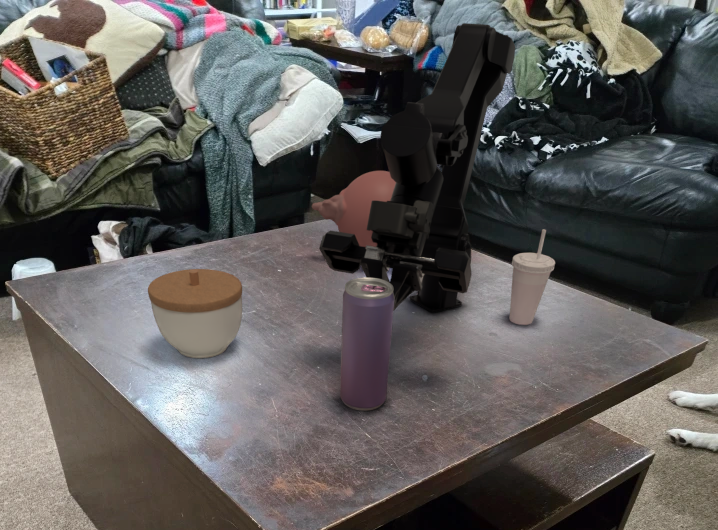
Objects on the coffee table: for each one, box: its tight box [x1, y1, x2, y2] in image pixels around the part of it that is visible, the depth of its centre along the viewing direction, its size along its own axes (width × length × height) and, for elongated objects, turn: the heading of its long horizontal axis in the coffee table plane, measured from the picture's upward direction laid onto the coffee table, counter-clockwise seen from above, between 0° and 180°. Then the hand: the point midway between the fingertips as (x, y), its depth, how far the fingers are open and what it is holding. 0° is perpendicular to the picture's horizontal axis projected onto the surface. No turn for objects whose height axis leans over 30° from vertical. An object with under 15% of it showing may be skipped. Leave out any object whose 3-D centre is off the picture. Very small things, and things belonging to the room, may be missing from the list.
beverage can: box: [339, 277, 395, 412], centre depth 77 cm, size 6×6×15 cm
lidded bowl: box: [147, 268, 243, 359], centre depth 89 cm, size 13×13×11 cm
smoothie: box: [508, 228, 556, 326], centre depth 98 cm, size 6×6×14 cm
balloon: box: [311, 170, 396, 247], centre depth 117 cm, size 15×20×15 cm
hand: (376, 325), depth 79 cm, fingers closed
